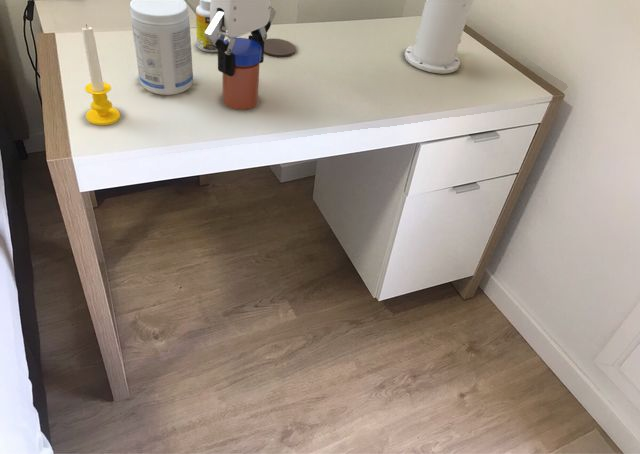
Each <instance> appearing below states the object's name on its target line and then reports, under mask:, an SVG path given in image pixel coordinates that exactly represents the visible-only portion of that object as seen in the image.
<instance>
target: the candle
mask: <svg viewBox="0 0 640 454" xmlns="http://www.w3.org/2000/svg"><path fill="white" fill-rule="evenodd" d="M93 29H94V28H93V27H91V26H88V25H87V24H85V27H82V28H81V33H82V40H83V45H84V50H85V57H86V61H87V67H88V72H89V77H90V83H88V84H86V85H85V87H84V91H86V92H87V93H88V94H91V95H92V100H93V101H91V102H90V109H89V110H88V111H87V112H86V114H85V116H86V117H85V118H86V120H87V122H89V123H90V124H93V125H95V126H109V125H113V124H115V123H117V122H118V121H119V120H120V118H121V113H120V111H119V110H118V109H117V108H115V107H114V106H113V103H112V101H110V100H109V99H108V95H107V94H108V93H109V92H110V91H111V90H112V86H111V84H109V83H108V82H104V79H103V76H102V70H101V64H100V59H99V53H98V48H97V43H96V37H95V33H94V30H93Z"/></svg>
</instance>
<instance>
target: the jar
mask: <svg viewBox="0 0 640 454" xmlns="http://www.w3.org/2000/svg"><path fill="white" fill-rule="evenodd" d="M260 65H261V63H260V62H259V63H257V64H255V65H251V66H237V65H234V75H233V76H231V77H230V76H228V75H226V74H224V73H222V102H223V104H224V105H225V106H226V107H228V108H230V109H232V110H236V111H247V110H251V109H254V108H255V107H256V106H257V105H258V104H259V103H258V102H259V86H260V85H259V84H260V69H261V67H260Z"/></svg>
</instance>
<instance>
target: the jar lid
mask: <svg viewBox="0 0 640 454" xmlns="http://www.w3.org/2000/svg"><path fill="white" fill-rule="evenodd" d="M227 41H228V38H227V39H224V43H225V44H227ZM231 53H233V54H234V65H237V66H251V65H255V64H257V63H259V62H260V61H261V59H262V47H261V45H260V44H259V43H258V42H256V41H254V40H251V39H248V38H246V37H236V40H235V43H234V46H233V49H232V52H231Z"/></svg>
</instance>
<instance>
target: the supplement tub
mask: <svg viewBox="0 0 640 454" xmlns="http://www.w3.org/2000/svg"><path fill="white" fill-rule="evenodd" d="M129 8H130V11H129V13H130V21H131V22H130V23H131V29H132V35H133V36H132V37H133V43H134V49H135V56H136V57H135V58H136V64H137V65H136V66H137V70H138V78H139V82H140V85H141V86H142V87H143V89H145V90H147V92H150V93H153V94H156V95H163V96H164V95H165V96H172V95H177V94H180V93H183V92H185V91H187V90H188V89H190V88H191V87H192V85H193V83H194V72H193V71H194V69H193V53H192V38H191V26H190V25H191V24H190V22H191V21H190V12H189V7H188V4H187V2H186V1H185V0H131V1H130V2H129Z"/></svg>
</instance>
